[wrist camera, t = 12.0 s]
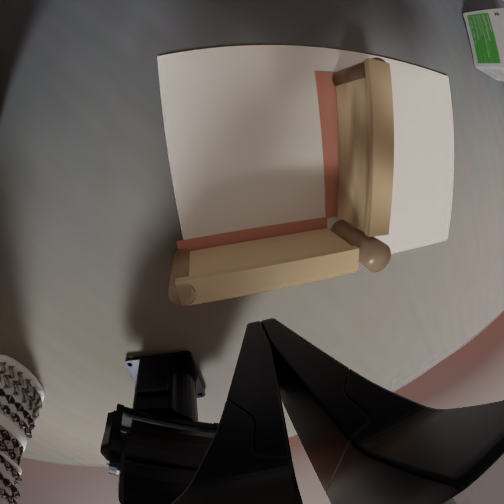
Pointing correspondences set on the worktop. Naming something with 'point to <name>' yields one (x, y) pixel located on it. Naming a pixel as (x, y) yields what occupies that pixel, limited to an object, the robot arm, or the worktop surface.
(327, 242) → the fence post and layout card
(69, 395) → the worktop surface
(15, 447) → the decorative candle
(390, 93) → the folding fence panel
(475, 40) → the skincare box
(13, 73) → the worktop surface
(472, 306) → the worktop surface
